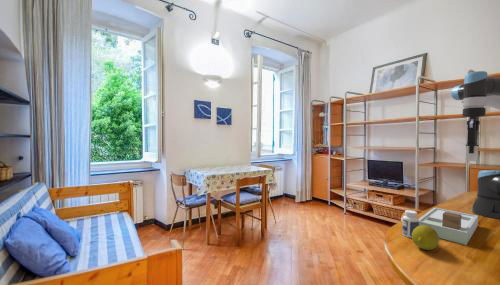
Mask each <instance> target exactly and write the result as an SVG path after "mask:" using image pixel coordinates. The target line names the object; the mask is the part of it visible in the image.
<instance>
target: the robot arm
mask: <svg viewBox="0 0 500 285" xmlns="http://www.w3.org/2000/svg"><path fill="white" fill-rule="evenodd" d="M463 80H464V81H463V84H459V85H456V86H454V87H453V88H452V89H451V92H450V96H451V97H452V99H454V100H455V101H461V104H462V108H463V109H462V117H464V118H468V120H466V125H467V126H466V128H467V129H466V130H467V141H466V142H467V143H466V144H465V147H467V156H466V160H467V161H468V162H470V161H471V162H476V161H477V147H479V144H478V136H479V135H478V134H479V129H480V124H481V120H479V117H480V118H481V117H486V112H487V110H486V107H488V108H489V107H491V108H493V109H495V110H500V77H489V74H488V72H487V71H485V70H484V71H483V70H481V71H472V72H471V71H470V72H469V73H466V74H465V75H464V79H463ZM476 187H477V188H476V192H477V193H476V198H475V201H474V203H473V204H472V207H471V212H472V213H474V214H475V215H478V216H483V217H487V218H493V219H497V220H498V219H500V170H498V169H497V170H495V169H494V170H489V169H488V170H487V169H485V170H480V171H478V175H477V186H476Z"/></svg>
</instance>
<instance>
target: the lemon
mask: <svg viewBox="0 0 500 285" xmlns="http://www.w3.org/2000/svg"><path fill="white" fill-rule="evenodd" d="M411 239H412V242H413V243H414V244H415V246H417V247H418V248H420V249H422V250H425V251H431V250H435V249H436V248H437V247H438V246H439V242H440V238H439V236H438V234H437V232H436V231H435V230H434V229H433V228H431V227H430V226H426V225H421V226H418V227H416V228H415V229H414V230H413V232H412V238H411Z"/></svg>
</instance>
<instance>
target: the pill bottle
mask: <svg viewBox="0 0 500 285" xmlns="http://www.w3.org/2000/svg"><path fill="white" fill-rule="evenodd" d="M417 215H418V212H417V211H415V210H410V209H407V210H406V209H405V211H404V215H403V216H402V226H401V227H402V231H401V233H402V235H403V236H404V237H407V238H410V239H412V232H413V230H414V229H415V228H416V227H418V226H419V218H418V216H417Z"/></svg>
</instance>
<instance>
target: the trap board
mask: <svg viewBox="0 0 500 285" xmlns="http://www.w3.org/2000/svg"><path fill="white" fill-rule="evenodd" d="M444 212H451V213H456V214H461V227H460V229H459V230H456V229H452V228H448V227H444V226H442V220H443V213H444ZM418 219H419V226H421V225H426V226H430V227H431V228H433V229H434V230H435V231H436V232H437V234H438V236H439V239H442V240H446V241H449V242H453V243H457V244H461V245H464V246H467V245H468V243H469V242H470V240H471V238H472V236H473V234H474V232H476V229H477V228H478V222H479V215H478V214H471V213H464V212H460V211H455V210H449V209H445V208H440V207H433V208H432V209H430V210H428V212H426V213H425V214H423V215H421V216H420V217H419V218H418Z"/></svg>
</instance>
